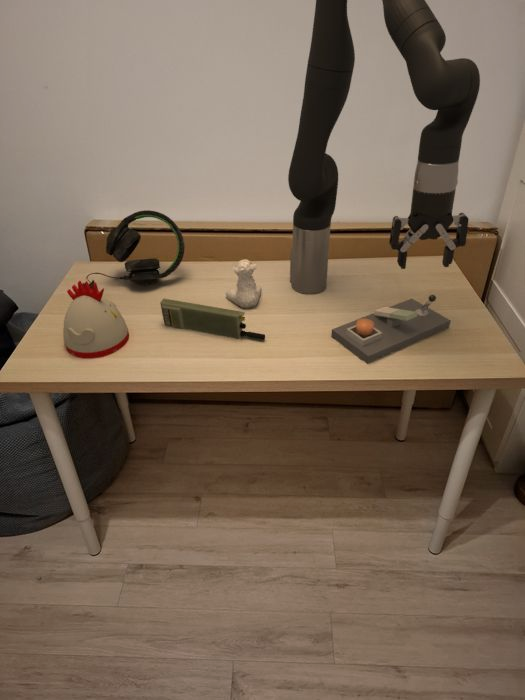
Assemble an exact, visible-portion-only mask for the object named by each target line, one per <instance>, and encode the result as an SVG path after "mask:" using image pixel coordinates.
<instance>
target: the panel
mask: <svg viewBox="0 0 525 700" xmlns="http://www.w3.org/2000/svg"><path fill="white" fill-rule="evenodd" d="M423 306H424V304H423V303H421V302H419V301H418V300H415V299H413V298H412V297H411V298H409V299H406V300H405V301H404V300H403V301H402V302H399V303H396V304H393V305H391V306H388V307H389V308H395V309H401V310H408V311H414V312H417V317H414V318H412V319H410V320H407V321H405V320H400V319H394V318H389V317H383V316H378V315H374V312H373V313H370V314H368V315H365V316H363V317H361V318H360V317H359V318H357V319H355V320H353V321H350V322H348V323H345V324H342V325H340V326H337V327H335V328H334V327H333V328H332V329H331V335H330V336H331V338H332V339H333V340H335V341H336V342H338V343H339V345H341V346H343V347H344V348H346V349H347V350H348V351H349V352H351V353H352V354H353V355H355V356H356V357H357V358H358V359H360V360H362V361H363V362H365V363H366V364H367V365H368V364H370V363H373V362H375V361H377V360H379V359H381V358H383V357H386V356H388V355H391V354H392V353H394V352H395V353H396V352H397V351H400V350H402V349H404V348H406V347H408V346H411V345H413V344H415V343H417V342H418V343H419V342H420V341H422V340H425V339H427V338H429V337H431V336H433V335H435V334H438V333H440V332H442V331H445V330H447V329H449V328H450V325H451V323H452V322H451V319H449V318H447V317H445V316H444V315H442V314H440V313H438V312H437V311H435V310H433V309H431V308H430V307H428V308H427V309H426V310H425V311H424V312H422V311H421V308H422V307H423ZM359 319H369V320H371V321H373V323H374V326H373V333H372V334H370V335H366V336H365V335H360V334H358V333H357V332H356V325H357V321H358V320H359Z"/></svg>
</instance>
